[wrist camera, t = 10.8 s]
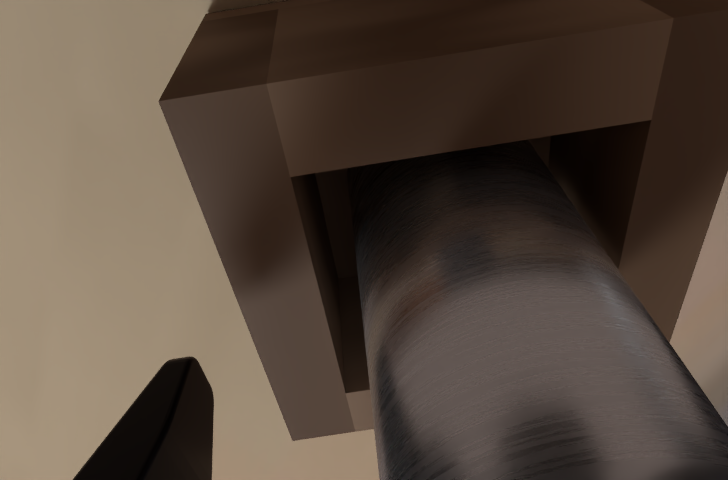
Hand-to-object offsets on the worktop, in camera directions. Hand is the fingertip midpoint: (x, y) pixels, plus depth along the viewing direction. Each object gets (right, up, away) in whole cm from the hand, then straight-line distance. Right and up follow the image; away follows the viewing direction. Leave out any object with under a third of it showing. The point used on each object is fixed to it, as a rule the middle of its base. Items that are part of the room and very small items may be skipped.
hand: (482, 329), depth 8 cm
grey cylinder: (0, +3, +4) cm, 5 cm away
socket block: (0, +3, +4) cm, 5 cm away
